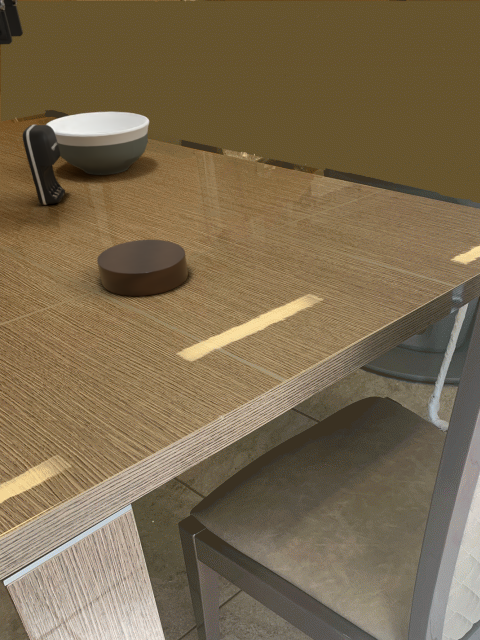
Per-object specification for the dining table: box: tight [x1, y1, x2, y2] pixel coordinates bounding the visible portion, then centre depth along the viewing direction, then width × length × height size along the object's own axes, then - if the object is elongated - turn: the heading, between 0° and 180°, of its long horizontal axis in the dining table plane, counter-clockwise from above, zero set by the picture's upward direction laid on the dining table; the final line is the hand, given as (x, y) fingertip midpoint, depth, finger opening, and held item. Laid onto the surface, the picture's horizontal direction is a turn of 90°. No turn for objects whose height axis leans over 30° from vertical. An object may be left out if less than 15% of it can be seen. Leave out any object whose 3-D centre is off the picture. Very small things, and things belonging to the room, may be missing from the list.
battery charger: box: [22, 124, 66, 206], centre depth 105 cm, size 7×4×11 cm, turn 6°
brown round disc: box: [96, 239, 189, 297], centre depth 83 cm, size 11×11×3 cm
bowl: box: [45, 111, 150, 176], centre depth 121 cm, size 19×19×8 cm
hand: (10, 39), depth 90 cm, fingers open, 8 cm apart
